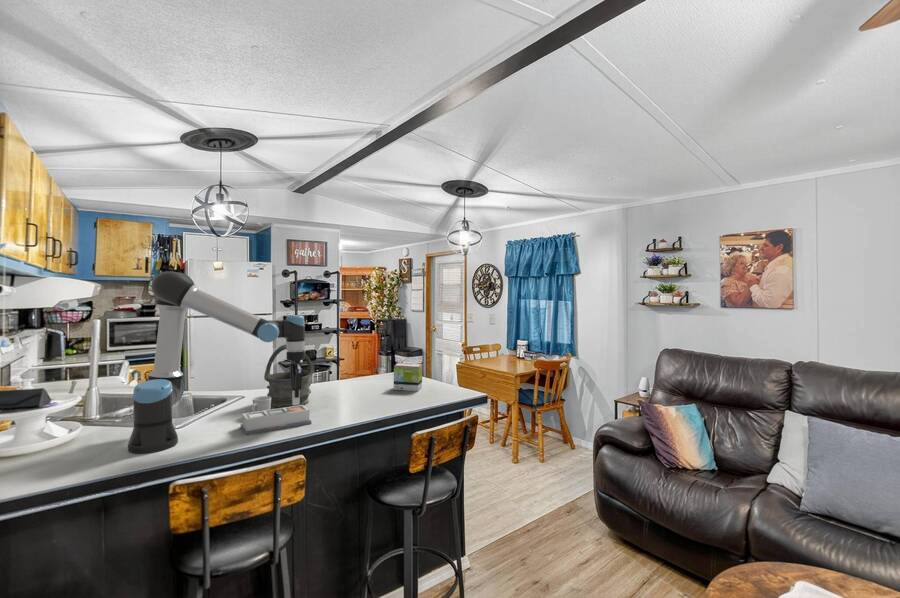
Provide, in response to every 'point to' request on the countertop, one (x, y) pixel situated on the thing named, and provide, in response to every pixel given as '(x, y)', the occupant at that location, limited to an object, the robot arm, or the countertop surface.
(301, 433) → the countertop surface
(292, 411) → the key terracotta
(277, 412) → the key sage
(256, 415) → the key cream
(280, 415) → the grey compartment tray
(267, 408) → the cup
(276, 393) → the dark handled basket
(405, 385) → the tea box
